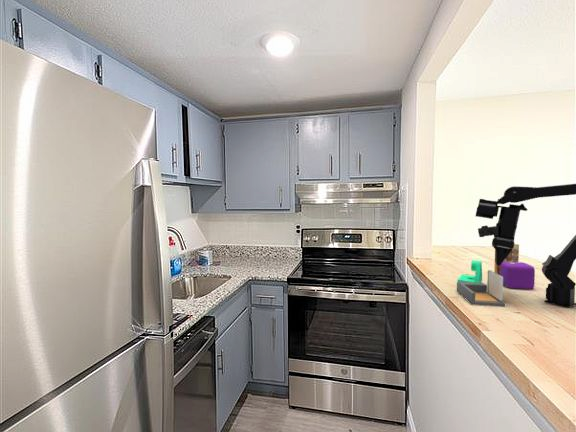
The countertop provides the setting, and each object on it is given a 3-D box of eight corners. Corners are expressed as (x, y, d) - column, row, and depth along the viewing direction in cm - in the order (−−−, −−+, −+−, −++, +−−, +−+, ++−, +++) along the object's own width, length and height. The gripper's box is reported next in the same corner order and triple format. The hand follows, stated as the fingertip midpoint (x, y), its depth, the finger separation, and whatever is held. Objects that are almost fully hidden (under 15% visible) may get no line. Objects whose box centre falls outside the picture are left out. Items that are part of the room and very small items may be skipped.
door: (490, 291, 114) (490, 270, 114) (503, 300, 104) (503, 276, 104) (486, 291, 114) (487, 270, 114) (499, 300, 104) (499, 276, 104)
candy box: (518, 277, 140) (519, 244, 139) (510, 278, 139) (512, 244, 138) (501, 273, 149) (502, 241, 148) (493, 274, 148) (494, 242, 147)
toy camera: (517, 281, 134) (518, 258, 134) (540, 290, 121) (541, 265, 120) (491, 281, 135) (491, 258, 135) (510, 290, 122) (511, 264, 121)
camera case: (483, 291, 119) (484, 281, 119) (505, 306, 103) (505, 294, 103) (455, 290, 121) (455, 280, 121) (471, 304, 105) (472, 292, 105)
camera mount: (461, 280, 138) (462, 257, 137) (482, 282, 133) (482, 258, 133) (457, 286, 128) (457, 261, 128) (478, 289, 123) (479, 263, 123)
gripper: (483, 216, 124) (476, 254, 126) (479, 218, 109) (470, 261, 111) (518, 221, 118) (509, 261, 120) (518, 224, 103) (508, 269, 105)
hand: (498, 263), depth 114 cm, fingers open, 9 cm apart
